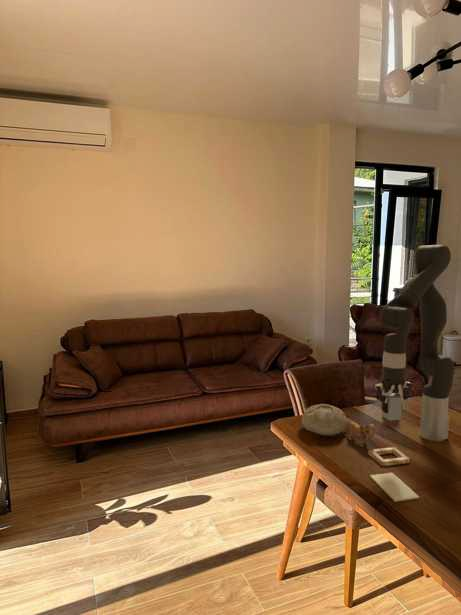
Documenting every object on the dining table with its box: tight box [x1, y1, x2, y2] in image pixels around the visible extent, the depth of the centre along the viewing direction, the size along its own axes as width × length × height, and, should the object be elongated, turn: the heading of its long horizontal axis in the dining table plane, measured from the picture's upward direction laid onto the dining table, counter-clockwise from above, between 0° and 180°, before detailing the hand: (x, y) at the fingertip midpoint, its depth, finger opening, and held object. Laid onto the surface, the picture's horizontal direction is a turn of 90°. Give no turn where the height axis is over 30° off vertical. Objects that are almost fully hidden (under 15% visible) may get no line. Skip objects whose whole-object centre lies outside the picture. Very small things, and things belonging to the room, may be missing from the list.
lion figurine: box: [343, 421, 378, 448], centre depth 165 cm, size 15×5×9 cm, turn 36°
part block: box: [381, 393, 403, 422], centre depth 150 cm, size 4×4×8 cm
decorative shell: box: [301, 403, 348, 437], centre depth 175 cm, size 18×18×10 cm
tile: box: [369, 472, 420, 503], centre depth 135 cm, size 8×14×1 cm, turn 12°
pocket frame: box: [367, 446, 410, 467], centre depth 153 cm, size 10×9×2 cm
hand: (391, 411), depth 151 cm, fingers closed on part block, 4 cm apart
